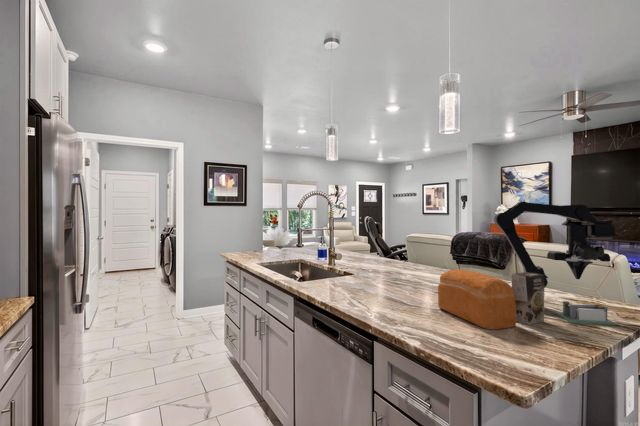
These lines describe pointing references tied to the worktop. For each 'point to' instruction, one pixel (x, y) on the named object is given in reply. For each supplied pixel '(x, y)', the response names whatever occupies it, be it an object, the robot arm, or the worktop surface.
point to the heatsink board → (573, 315)
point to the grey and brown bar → (588, 306)
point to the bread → (477, 298)
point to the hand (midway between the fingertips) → (577, 279)
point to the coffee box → (529, 297)
